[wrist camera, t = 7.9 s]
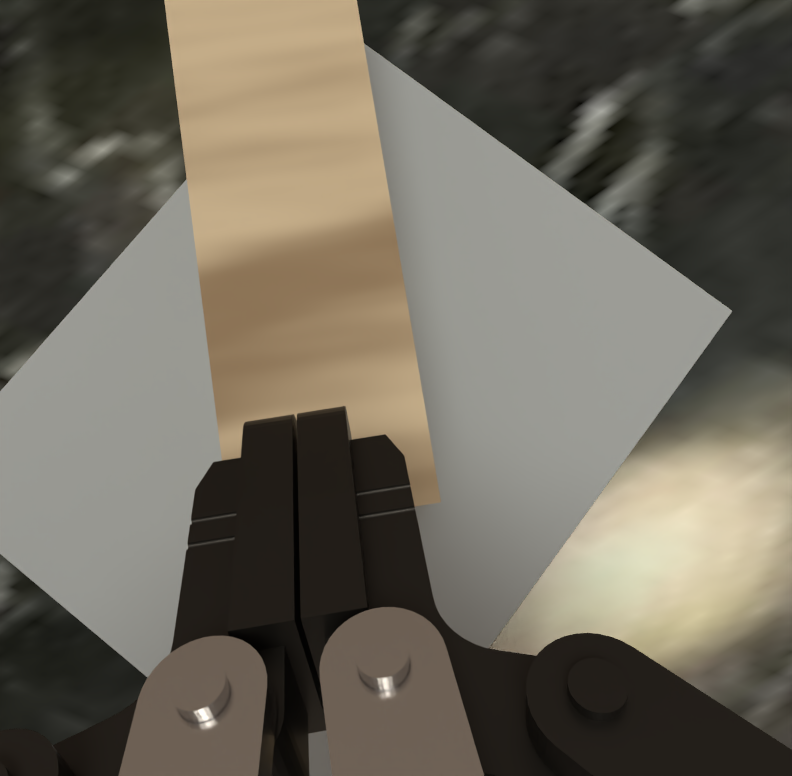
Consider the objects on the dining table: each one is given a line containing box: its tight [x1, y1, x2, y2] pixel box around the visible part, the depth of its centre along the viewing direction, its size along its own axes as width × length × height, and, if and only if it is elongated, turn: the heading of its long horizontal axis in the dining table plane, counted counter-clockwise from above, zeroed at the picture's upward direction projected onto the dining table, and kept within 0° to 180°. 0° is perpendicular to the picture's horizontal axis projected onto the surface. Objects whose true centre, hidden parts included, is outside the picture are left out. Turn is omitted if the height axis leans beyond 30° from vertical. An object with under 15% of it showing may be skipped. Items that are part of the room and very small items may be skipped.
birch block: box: [164, 0, 441, 506], centre depth 18 cm, size 4×4×14 cm
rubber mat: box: [0, 44, 732, 776], centre depth 20 cm, size 18×15×1 cm
